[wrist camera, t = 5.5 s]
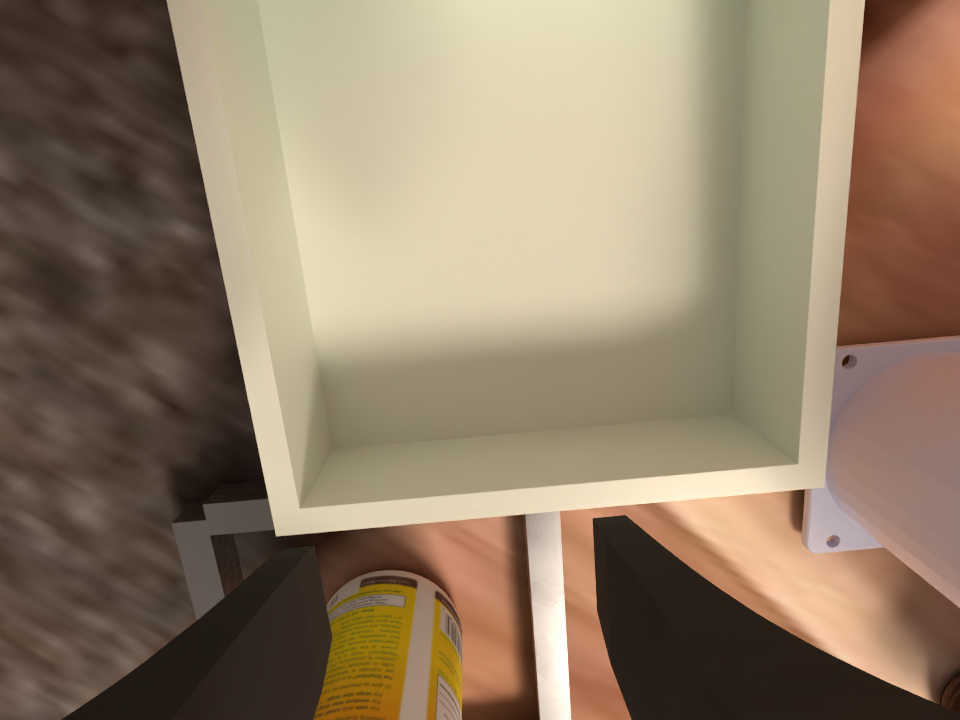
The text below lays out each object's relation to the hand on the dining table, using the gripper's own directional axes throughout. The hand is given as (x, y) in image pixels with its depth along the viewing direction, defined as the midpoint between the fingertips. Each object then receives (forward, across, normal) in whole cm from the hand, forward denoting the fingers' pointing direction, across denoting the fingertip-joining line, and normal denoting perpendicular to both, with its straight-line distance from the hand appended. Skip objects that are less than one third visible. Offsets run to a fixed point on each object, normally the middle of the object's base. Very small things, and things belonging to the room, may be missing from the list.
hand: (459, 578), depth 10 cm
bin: (+10, -2, -6) cm, 12 cm away
